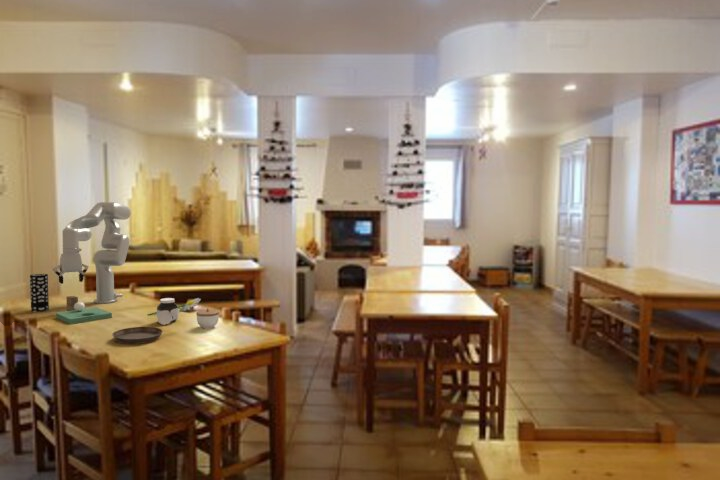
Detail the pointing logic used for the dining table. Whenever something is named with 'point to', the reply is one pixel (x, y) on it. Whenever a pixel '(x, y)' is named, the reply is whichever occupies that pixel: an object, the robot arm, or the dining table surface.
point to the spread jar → (167, 311)
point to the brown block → (71, 302)
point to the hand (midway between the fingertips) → (71, 282)
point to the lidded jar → (207, 318)
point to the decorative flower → (186, 306)
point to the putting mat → (83, 315)
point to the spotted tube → (39, 292)
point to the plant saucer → (137, 335)
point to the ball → (79, 306)
